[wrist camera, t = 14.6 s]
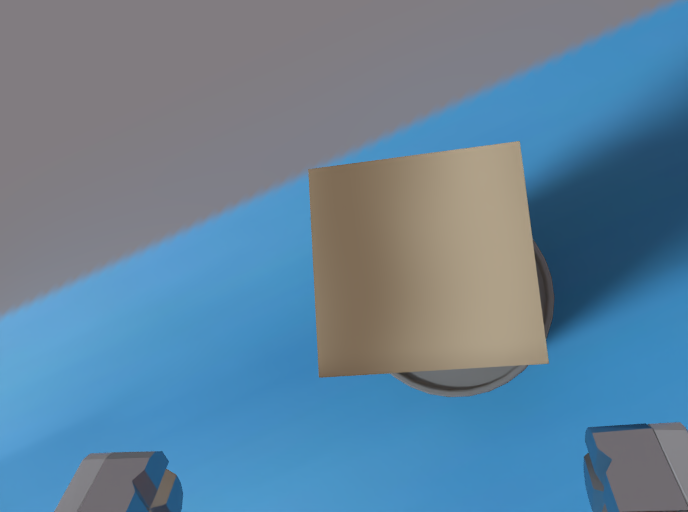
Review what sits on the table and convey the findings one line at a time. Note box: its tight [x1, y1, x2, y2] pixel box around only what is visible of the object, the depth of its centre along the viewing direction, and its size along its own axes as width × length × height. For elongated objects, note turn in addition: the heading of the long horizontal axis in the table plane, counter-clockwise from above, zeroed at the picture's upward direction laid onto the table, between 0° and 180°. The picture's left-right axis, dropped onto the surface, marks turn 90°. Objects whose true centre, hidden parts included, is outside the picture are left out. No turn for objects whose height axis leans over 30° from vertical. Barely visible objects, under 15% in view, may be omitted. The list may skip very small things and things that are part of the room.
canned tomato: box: [390, 240, 554, 397], centre depth 28 cm, size 8×8×11 cm
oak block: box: [308, 141, 549, 377], centre depth 18 cm, size 5×5×10 cm
